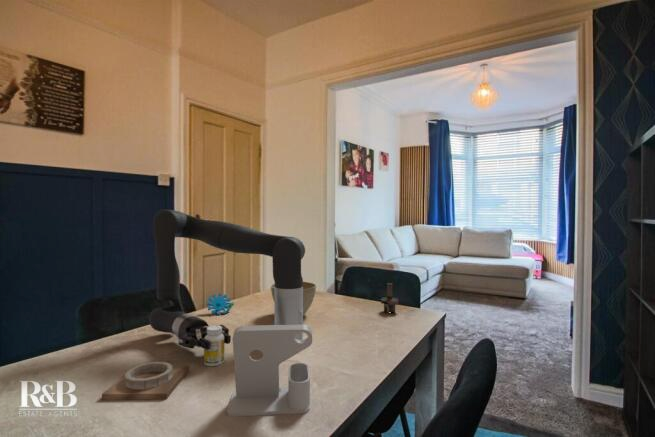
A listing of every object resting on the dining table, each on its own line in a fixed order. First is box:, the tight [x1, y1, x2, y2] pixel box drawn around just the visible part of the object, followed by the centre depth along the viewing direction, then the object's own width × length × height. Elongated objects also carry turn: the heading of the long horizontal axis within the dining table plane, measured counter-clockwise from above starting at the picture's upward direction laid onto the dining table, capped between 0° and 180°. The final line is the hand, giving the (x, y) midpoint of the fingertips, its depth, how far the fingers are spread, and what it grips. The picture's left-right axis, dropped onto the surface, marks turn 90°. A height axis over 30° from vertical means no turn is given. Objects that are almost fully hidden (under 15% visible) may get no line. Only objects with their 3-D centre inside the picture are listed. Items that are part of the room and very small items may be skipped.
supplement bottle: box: [203, 325, 225, 367], centre depth 97 cm, size 5×5×10 cm
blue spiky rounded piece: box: [205, 292, 235, 316], centre depth 146 cm, size 11×6×10 cm
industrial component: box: [380, 282, 399, 314], centre depth 148 cm, size 9×7×12 cm
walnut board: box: [101, 361, 190, 401], centre depth 84 cm, size 14×14×3 cm
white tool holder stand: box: [226, 324, 313, 417], centre depth 77 cm, size 17×10×18 cm, turn 95°
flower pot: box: [270, 281, 317, 316], centre depth 142 cm, size 18×18×12 cm
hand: (219, 342), depth 95 cm, fingers closed on supplement bottle, 5 cm apart
